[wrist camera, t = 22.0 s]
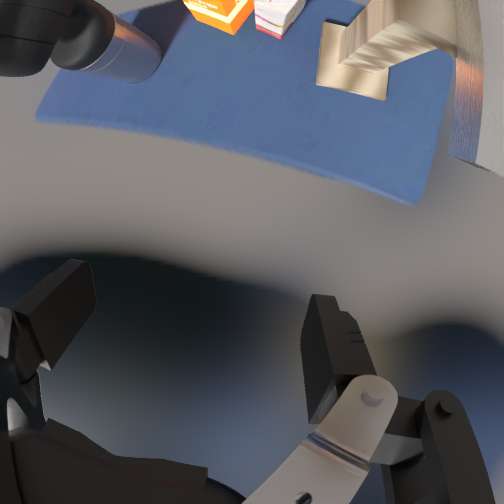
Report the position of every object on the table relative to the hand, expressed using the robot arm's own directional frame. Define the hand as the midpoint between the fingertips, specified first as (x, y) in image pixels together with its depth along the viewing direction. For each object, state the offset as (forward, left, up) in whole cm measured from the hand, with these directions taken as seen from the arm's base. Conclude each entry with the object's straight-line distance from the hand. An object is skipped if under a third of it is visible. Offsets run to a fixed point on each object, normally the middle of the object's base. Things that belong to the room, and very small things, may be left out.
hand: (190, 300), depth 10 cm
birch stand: (+15, +21, -40) cm, 48 cm away
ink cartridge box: (+2, +27, -40) cm, 49 cm away
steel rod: (+15, +18, -8) cm, 25 cm away
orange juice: (-7, +28, -40) cm, 50 cm away
